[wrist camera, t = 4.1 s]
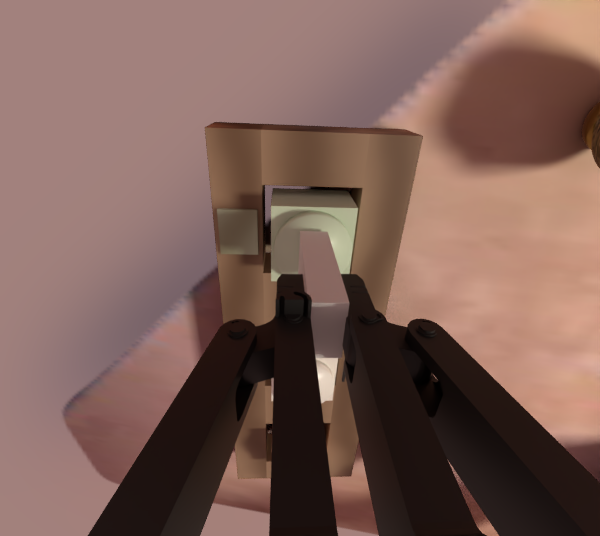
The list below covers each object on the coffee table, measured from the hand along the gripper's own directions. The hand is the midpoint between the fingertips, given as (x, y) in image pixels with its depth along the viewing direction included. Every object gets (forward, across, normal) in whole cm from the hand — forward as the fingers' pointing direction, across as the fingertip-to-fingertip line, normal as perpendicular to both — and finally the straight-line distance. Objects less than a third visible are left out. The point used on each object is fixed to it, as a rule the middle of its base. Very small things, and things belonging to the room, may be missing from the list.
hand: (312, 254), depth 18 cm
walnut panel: (+6, 0, +11) cm, 13 cm away
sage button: (+5, 0, 0) cm, 5 cm away
